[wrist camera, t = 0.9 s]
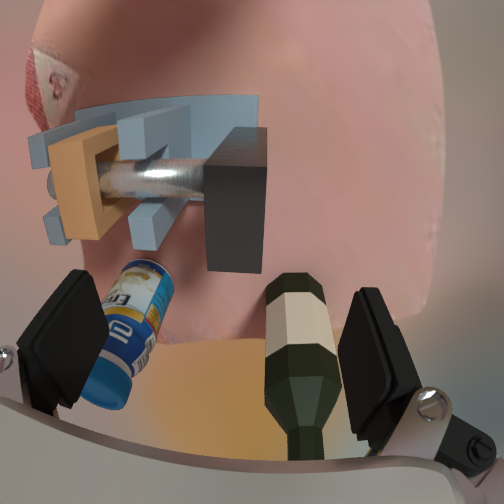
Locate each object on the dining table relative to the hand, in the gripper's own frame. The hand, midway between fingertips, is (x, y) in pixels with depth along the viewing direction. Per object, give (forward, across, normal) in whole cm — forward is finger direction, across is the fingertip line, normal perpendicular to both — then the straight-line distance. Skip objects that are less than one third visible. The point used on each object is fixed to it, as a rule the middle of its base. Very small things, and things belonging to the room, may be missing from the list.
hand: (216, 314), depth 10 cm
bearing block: (+25, +10, -1) cm, 27 cm away
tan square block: (+19, +13, -1) cm, 23 cm away
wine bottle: (+26, -6, +19) cm, 33 cm away
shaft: (+21, +8, -1) cm, 22 cm away
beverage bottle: (+26, +14, +18) cm, 35 cm away
